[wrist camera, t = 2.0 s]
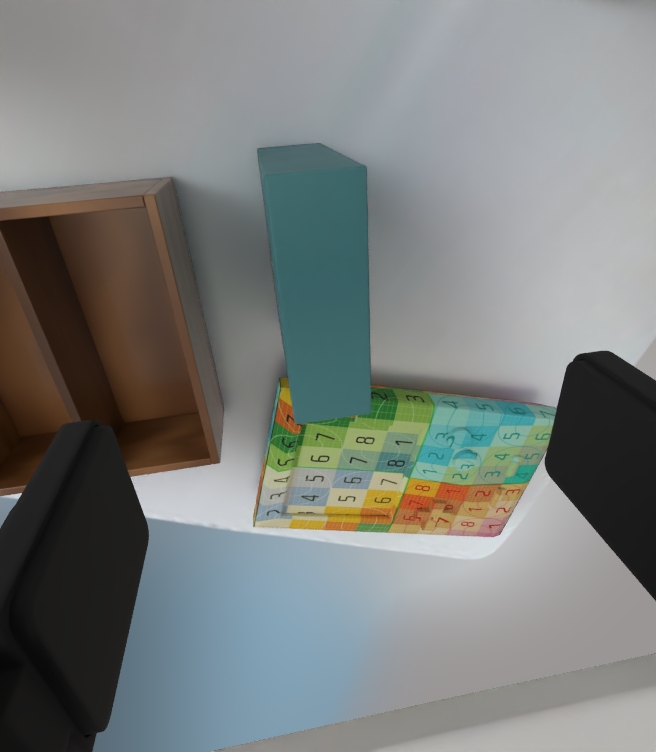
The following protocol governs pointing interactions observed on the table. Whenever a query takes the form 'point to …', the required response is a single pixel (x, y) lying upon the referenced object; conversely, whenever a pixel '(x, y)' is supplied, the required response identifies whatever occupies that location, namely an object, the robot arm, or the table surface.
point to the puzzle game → (402, 464)
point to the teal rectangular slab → (320, 276)
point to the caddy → (103, 328)
